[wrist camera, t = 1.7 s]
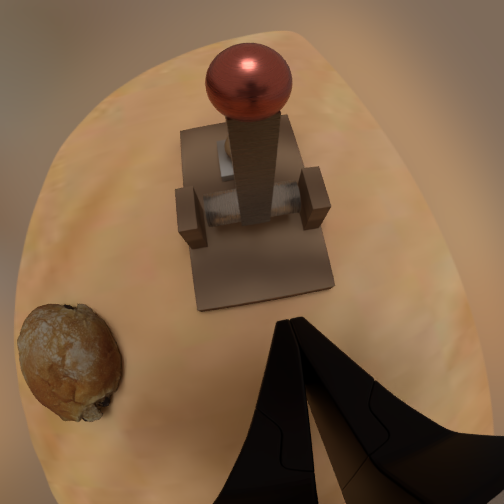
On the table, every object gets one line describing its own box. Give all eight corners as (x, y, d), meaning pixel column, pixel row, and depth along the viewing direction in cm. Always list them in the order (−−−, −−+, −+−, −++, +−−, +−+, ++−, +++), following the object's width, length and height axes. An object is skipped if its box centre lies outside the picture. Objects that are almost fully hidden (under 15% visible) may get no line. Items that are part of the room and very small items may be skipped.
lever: (300, 229, 19) (361, 73, 6) (212, 244, 19) (142, 98, 6) (282, 156, 21) (301, -5, 8) (203, 168, 21) (156, 12, 8)
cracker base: (330, 288, 22) (352, 275, 16) (201, 311, 21) (183, 305, 16) (286, 124, 26) (290, 84, 20) (183, 140, 25) (169, 102, 20)
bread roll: (139, 325, 25) (99, 275, 19) (132, 433, 18) (76, 416, 12) (60, 327, 24) (15, 283, 18) (46, 418, 18) (-13, 391, 12)
